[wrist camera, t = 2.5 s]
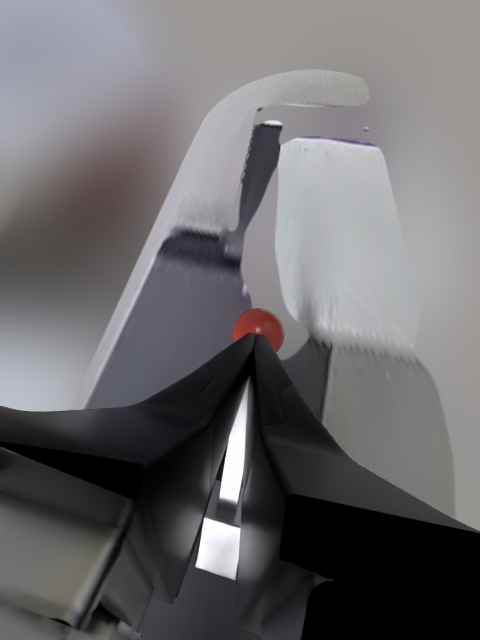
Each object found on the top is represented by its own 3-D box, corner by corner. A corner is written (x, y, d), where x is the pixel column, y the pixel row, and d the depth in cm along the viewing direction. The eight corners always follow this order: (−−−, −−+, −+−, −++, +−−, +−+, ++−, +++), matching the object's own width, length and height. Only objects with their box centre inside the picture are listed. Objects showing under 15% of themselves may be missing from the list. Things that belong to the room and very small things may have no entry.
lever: (240, 305, 12) (233, 302, 10) (285, 313, 12) (291, 312, 9) (203, 516, 13) (187, 571, 10) (246, 529, 13) (241, 589, 10)
